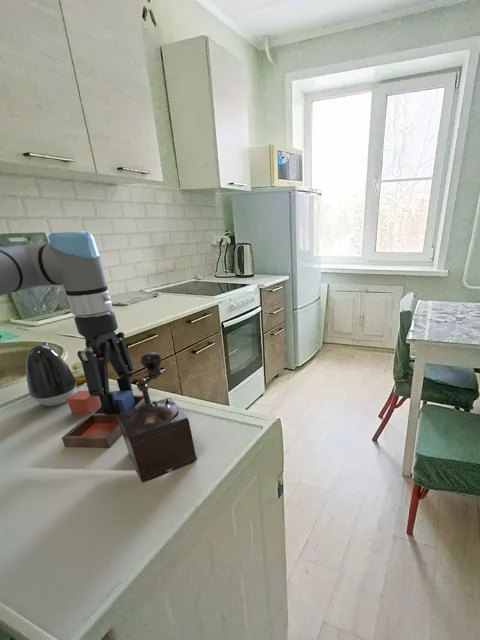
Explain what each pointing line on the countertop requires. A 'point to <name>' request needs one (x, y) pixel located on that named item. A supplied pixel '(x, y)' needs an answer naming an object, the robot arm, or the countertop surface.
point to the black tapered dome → (49, 376)
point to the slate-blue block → (124, 400)
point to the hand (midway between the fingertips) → (121, 410)
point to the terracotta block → (83, 403)
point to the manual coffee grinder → (156, 430)
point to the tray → (97, 429)
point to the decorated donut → (77, 372)
